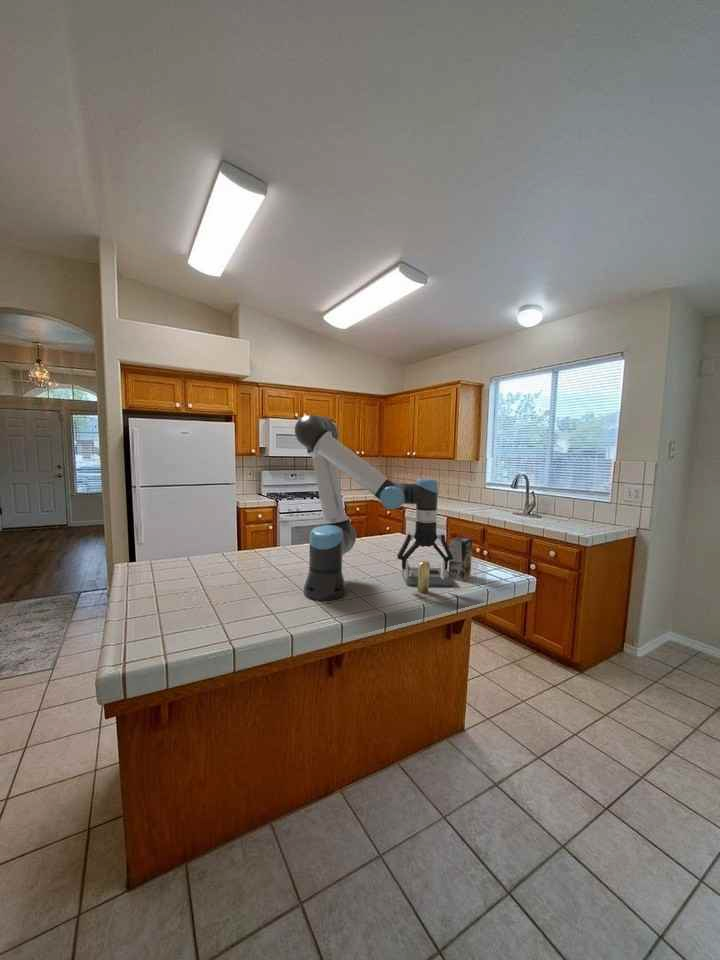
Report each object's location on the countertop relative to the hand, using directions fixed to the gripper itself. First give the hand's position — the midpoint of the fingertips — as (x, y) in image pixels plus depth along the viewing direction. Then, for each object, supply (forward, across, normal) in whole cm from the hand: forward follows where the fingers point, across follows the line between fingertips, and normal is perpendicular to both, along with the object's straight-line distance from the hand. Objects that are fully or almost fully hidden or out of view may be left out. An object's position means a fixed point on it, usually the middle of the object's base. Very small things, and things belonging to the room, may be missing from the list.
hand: (424, 578), depth 143 cm
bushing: (+5, 0, 0) cm, 5 cm away
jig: (+5, +4, +13) cm, 14 cm away
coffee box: (+6, +19, +18) cm, 27 cm away
